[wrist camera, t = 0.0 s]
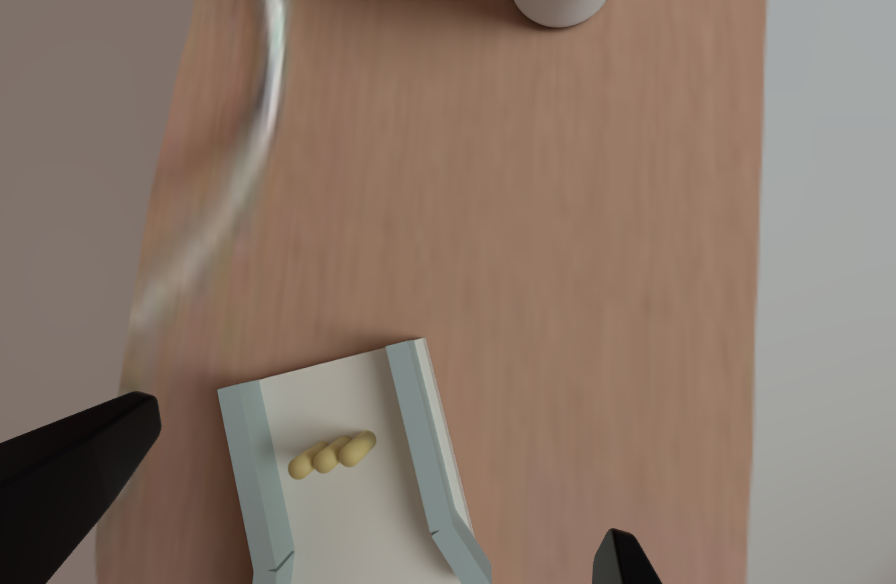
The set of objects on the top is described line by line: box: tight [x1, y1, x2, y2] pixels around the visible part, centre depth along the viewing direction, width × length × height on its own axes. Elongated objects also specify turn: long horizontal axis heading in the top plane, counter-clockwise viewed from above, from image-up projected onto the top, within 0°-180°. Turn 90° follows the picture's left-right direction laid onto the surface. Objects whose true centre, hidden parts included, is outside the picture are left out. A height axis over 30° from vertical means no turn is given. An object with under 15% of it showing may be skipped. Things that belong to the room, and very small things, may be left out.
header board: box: [217, 338, 492, 584], centre depth 22 cm, size 18×11×4 cm, turn 15°
